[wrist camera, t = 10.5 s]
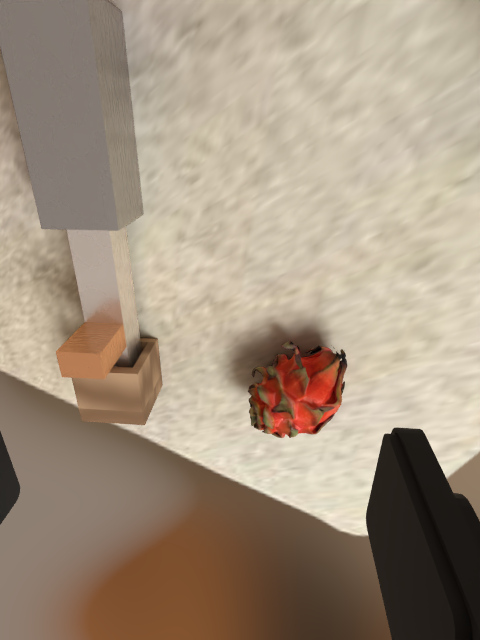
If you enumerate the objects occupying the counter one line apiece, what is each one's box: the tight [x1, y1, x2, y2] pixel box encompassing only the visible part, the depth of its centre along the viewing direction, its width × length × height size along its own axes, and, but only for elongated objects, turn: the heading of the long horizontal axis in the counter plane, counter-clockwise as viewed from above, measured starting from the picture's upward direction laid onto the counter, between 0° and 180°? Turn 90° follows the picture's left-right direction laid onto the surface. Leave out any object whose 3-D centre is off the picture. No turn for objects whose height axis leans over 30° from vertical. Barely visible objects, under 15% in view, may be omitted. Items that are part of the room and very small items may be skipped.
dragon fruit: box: [248, 341, 347, 438], centre depth 38 cm, size 8×8×12 cm
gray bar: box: [56, 226, 142, 379], centre depth 33 cm, size 21×4×9 cm, turn 0°
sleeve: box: [0, 0, 143, 231], centre depth 29 cm, size 15×6×6 cm, turn 0°
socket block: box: [72, 338, 162, 425], centre depth 40 cm, size 6×6×7 cm
